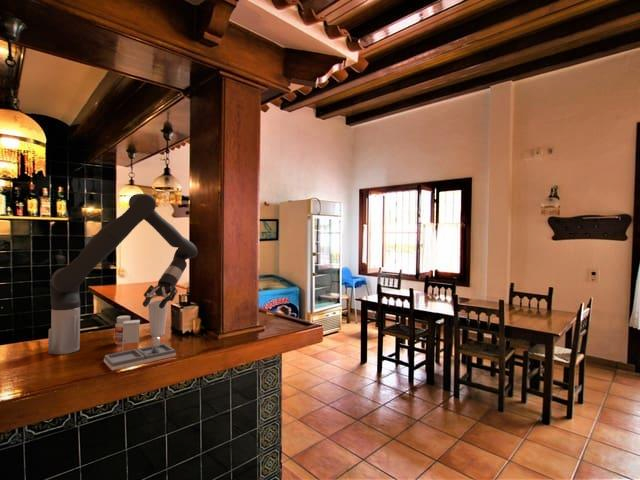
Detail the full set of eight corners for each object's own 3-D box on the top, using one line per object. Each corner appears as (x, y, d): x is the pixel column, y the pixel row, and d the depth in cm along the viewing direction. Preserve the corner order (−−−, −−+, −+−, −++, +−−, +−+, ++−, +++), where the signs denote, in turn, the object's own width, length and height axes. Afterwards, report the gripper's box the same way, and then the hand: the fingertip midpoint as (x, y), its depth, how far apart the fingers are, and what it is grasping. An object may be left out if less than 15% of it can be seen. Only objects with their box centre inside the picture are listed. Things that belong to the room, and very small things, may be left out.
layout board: (111, 370, 120) (112, 349, 120) (103, 361, 127) (104, 342, 127) (175, 356, 135) (175, 337, 135) (164, 349, 143) (165, 331, 143)
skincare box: (121, 353, 137) (122, 323, 136) (122, 350, 140) (122, 320, 140) (139, 351, 139) (139, 321, 139) (139, 348, 143) (139, 319, 143)
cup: (161, 331, 168) (161, 299, 168) (171, 334, 163) (171, 302, 163) (143, 335, 161) (144, 302, 161) (153, 338, 156) (154, 304, 156)
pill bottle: (113, 345, 146) (114, 319, 145) (115, 341, 151) (116, 315, 151) (130, 344, 148) (130, 318, 148) (131, 340, 154) (132, 314, 154)
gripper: (153, 271, 161) (134, 300, 150) (180, 273, 157) (161, 303, 146) (161, 281, 166) (143, 310, 155) (187, 283, 162) (170, 312, 151)
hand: (152, 306), depth 151 cm, fingers open, 8 cm apart
